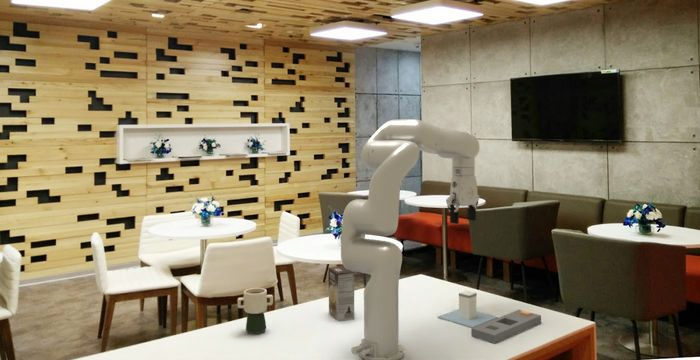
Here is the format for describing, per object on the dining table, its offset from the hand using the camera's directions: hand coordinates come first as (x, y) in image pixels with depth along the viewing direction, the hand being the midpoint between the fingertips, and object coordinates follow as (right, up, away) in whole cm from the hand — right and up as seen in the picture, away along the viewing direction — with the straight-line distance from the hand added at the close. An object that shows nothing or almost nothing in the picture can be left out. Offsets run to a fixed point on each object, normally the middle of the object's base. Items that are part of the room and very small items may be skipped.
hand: (463, 221), depth 192 cm
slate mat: (0, -31, -9) cm, 32 cm away
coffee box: (-42, -32, -6) cm, 53 cm away
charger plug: (0, -31, -9) cm, 32 cm away
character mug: (-68, -33, -20) cm, 78 cm away
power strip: (+10, -32, -20) cm, 39 cm away
